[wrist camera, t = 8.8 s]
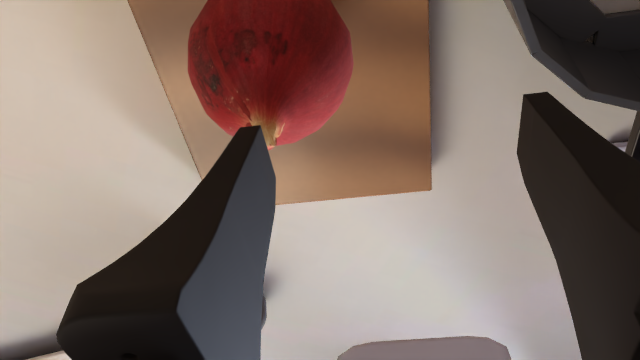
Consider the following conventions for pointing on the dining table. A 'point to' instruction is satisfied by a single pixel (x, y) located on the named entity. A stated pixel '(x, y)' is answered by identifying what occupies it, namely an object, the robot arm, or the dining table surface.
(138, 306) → the robot arm
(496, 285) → the dining table surface
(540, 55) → the cooking pot
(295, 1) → the onion
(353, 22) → the cutting board
